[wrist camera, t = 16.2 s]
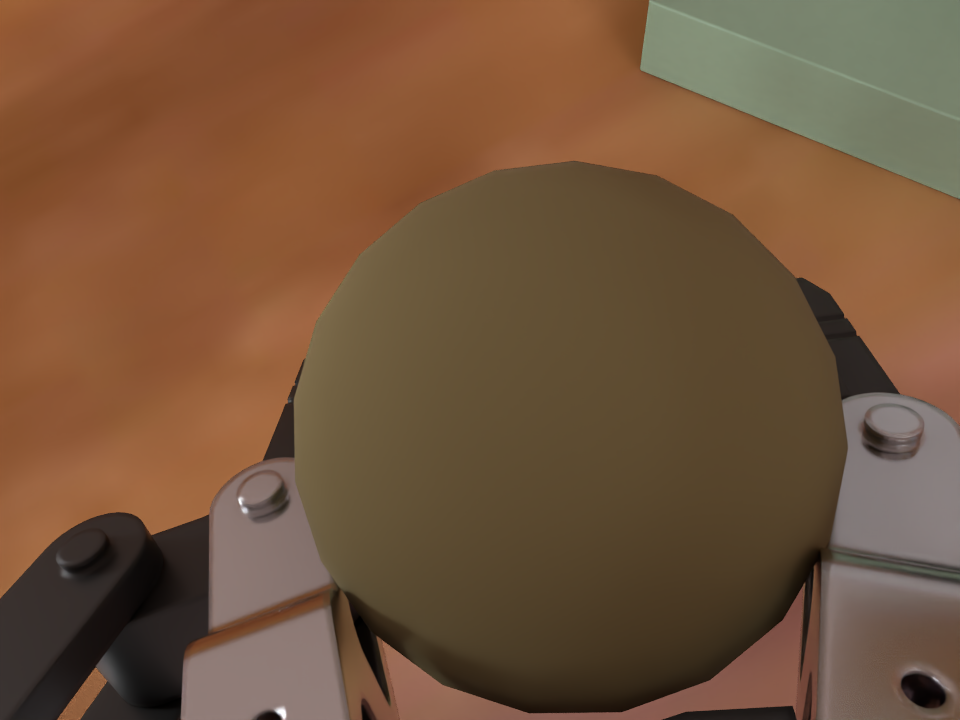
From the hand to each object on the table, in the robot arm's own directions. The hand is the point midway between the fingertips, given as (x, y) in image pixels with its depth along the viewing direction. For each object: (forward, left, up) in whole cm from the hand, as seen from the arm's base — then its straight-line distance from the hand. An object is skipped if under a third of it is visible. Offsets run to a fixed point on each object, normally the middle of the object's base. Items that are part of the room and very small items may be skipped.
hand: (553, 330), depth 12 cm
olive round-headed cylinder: (+1, -2, -5) cm, 6 cm away
